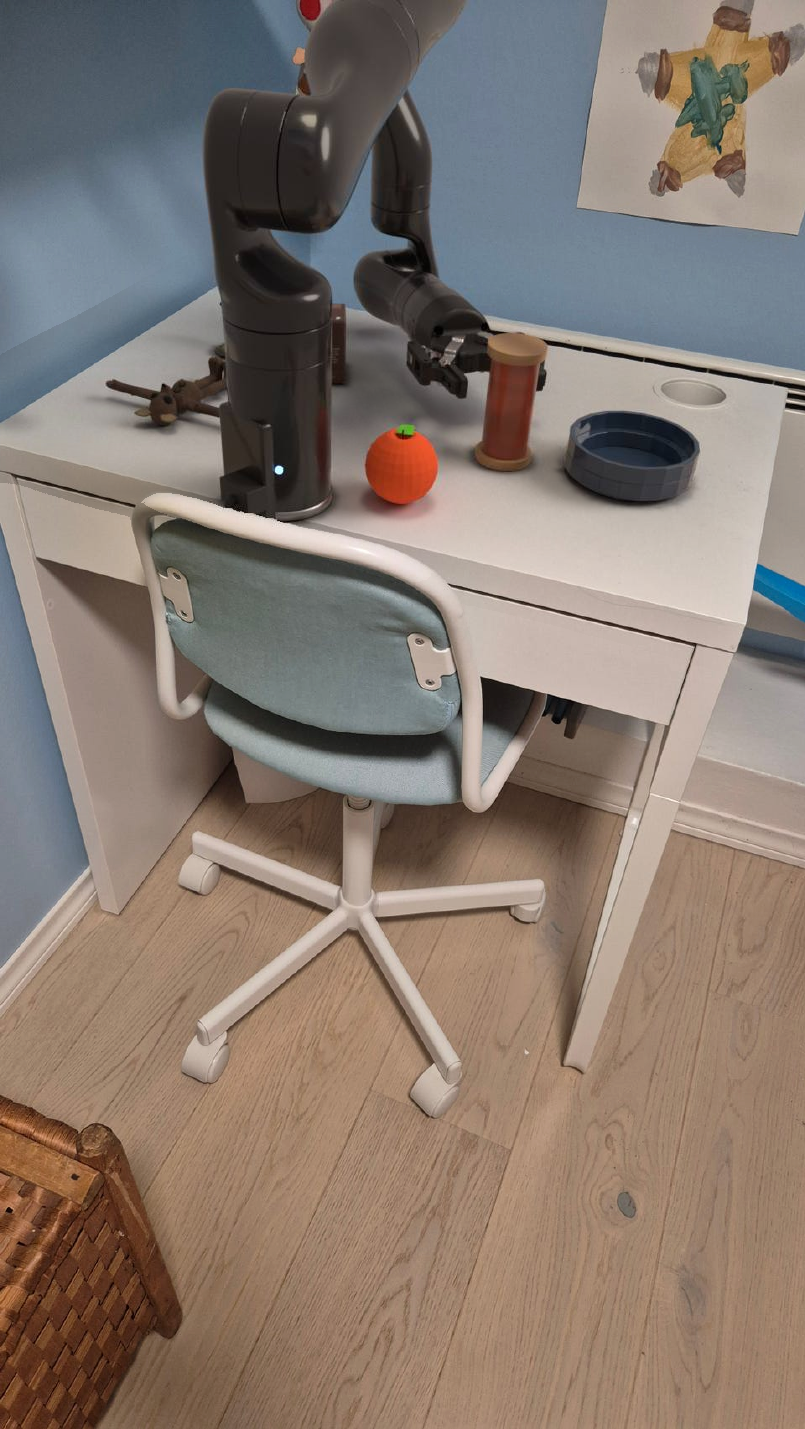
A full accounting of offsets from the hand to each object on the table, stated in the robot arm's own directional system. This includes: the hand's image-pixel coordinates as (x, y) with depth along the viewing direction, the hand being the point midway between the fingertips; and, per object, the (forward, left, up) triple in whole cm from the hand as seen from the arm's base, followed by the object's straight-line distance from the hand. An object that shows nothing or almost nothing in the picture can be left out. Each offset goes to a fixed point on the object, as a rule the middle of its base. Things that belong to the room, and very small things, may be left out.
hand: (503, 386), depth 99 cm
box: (-2, +26, -7) cm, 27 cm away
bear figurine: (-19, +28, -7) cm, 35 cm away
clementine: (-15, -1, -7) cm, 16 cm away
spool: (-1, -2, -7) cm, 7 cm away
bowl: (+7, -12, -7) cm, 16 cm away
